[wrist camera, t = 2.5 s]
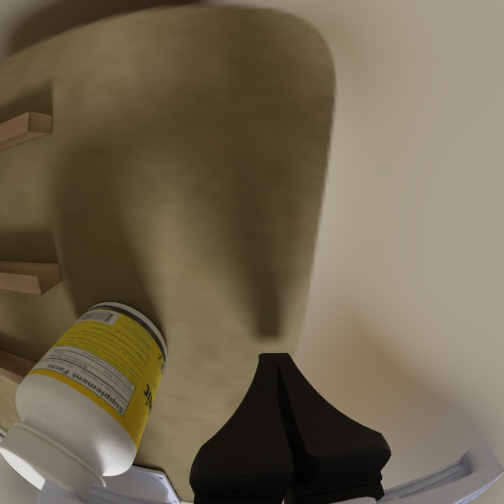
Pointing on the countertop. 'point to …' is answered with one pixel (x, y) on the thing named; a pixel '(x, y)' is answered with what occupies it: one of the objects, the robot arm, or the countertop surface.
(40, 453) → the supplement bottle
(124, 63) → the countertop surface
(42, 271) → the rack
